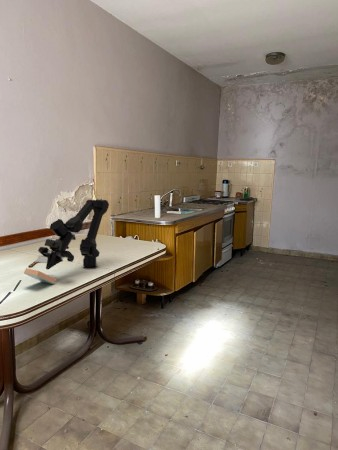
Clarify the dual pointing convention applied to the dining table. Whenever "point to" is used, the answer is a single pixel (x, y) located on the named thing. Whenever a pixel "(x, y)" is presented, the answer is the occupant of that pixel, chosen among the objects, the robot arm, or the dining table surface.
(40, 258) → the kitchen cleaver
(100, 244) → the dining table surface
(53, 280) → the glazed tile
